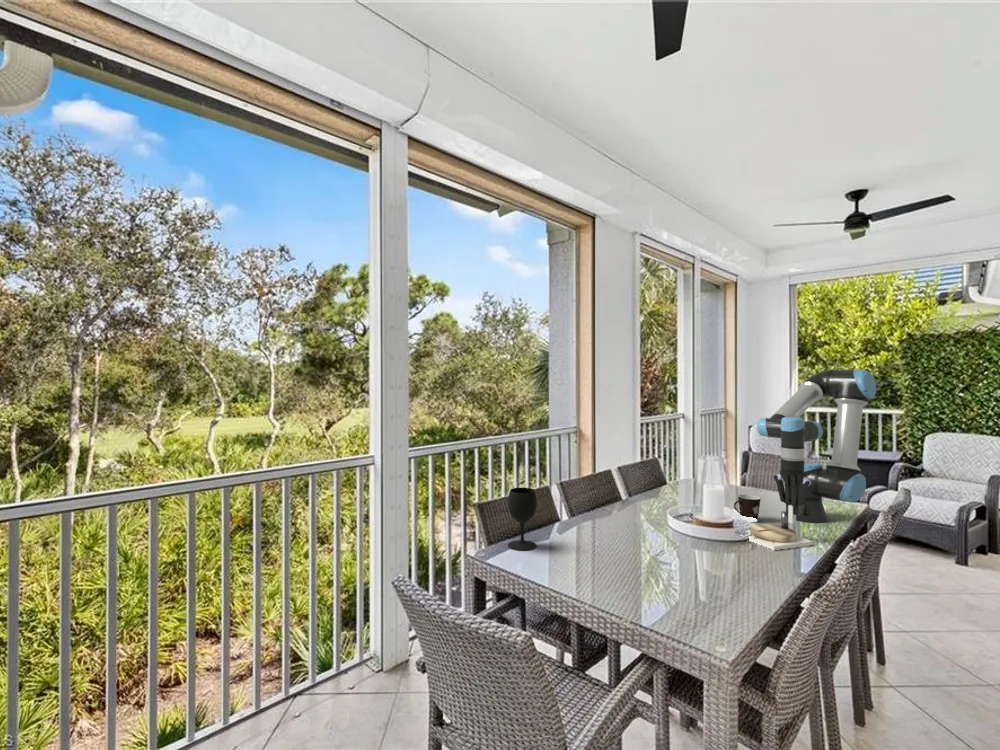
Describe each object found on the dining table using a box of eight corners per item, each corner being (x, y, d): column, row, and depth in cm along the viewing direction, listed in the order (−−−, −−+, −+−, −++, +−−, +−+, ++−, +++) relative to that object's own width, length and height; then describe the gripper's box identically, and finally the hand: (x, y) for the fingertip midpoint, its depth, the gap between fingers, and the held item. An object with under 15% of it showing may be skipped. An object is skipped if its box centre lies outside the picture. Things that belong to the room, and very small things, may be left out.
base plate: (771, 530, 197) (771, 526, 197) (812, 545, 180) (812, 540, 180) (734, 535, 192) (734, 530, 192) (774, 550, 175) (774, 545, 175)
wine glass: (542, 545, 179) (542, 490, 179) (523, 553, 172) (524, 495, 172) (520, 539, 186) (520, 485, 186) (501, 546, 179) (501, 490, 179)
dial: (771, 527, 196) (771, 506, 196) (805, 539, 181) (805, 517, 181) (740, 530, 191) (740, 510, 191) (773, 543, 177) (773, 521, 177)
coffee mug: (755, 517, 215) (755, 494, 215) (764, 523, 206) (764, 499, 206) (727, 517, 216) (727, 494, 216) (734, 523, 207) (734, 499, 207)
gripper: (816, 460, 182) (816, 525, 182) (779, 455, 193) (779, 516, 193) (806, 462, 178) (806, 529, 178) (769, 457, 188) (769, 520, 189)
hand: (792, 522), depth 185 cm, fingers closed
